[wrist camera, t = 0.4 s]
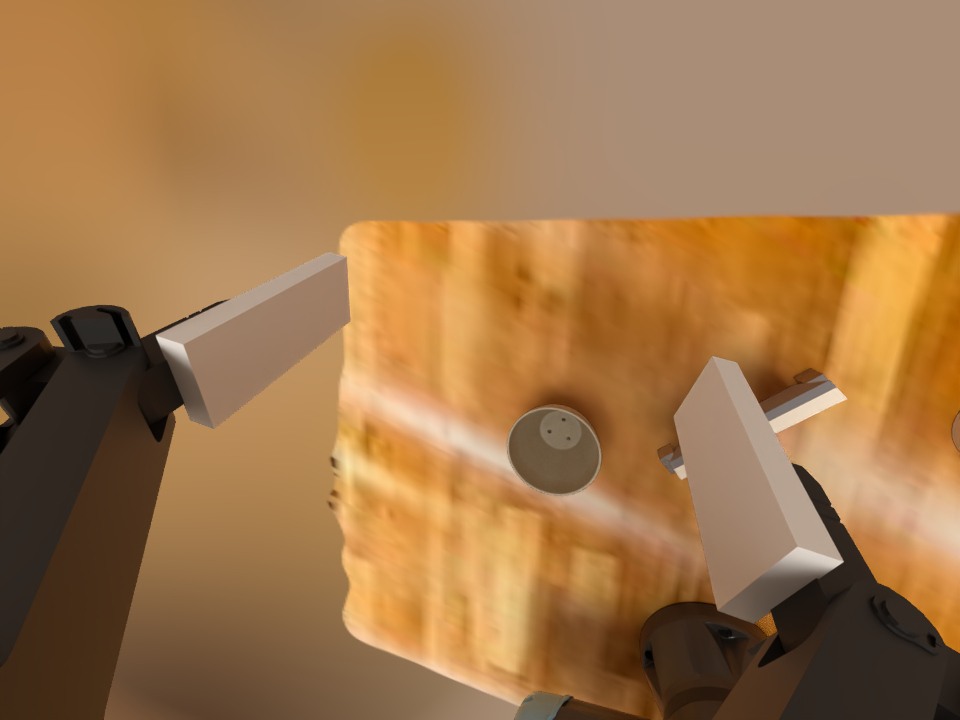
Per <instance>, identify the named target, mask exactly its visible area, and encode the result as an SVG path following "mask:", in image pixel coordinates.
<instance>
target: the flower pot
mask: <svg viewBox="0 0 960 720" xmlns="http://www.w3.org/2000/svg"><path fill="white" fill-rule="evenodd" d="M563 418H564V420H563V421H562V419H563ZM549 432H551V433H549ZM568 437H570V438H568ZM507 453H508V458H509V461H510V464H511V466H512V468H513V469H514V471H515V473H516V474H517V475H518V476H519V478H520V479H521V480H522V481H523V482H524V483H526V484H527V485H528V486H530V487H531V488H533V489H535V490H537V491H539V492H541V493H544V494H548V495H553V496H567V495H572V494H575V493H578V492H580V491H582V490H584V489H585V488H587V487H588V486H589V485H590V484H591V483H592V482H593V481H594V479H595V478H596V476H597V474H598V472H599V470H600V466H601V459H602V454H601V447H600V443H599V439H598V437H597V434H596V432H595V430H594V428H593V427H592V425H591V424H590V423H589V421H588V420H587V419H586V418H585V417H584V416H583V415H582V414H580V413H579V412H578V411H576V410H574V409H572V408H570V407H568V406H564V405H558V404H548V405H543V406H539V407H536V408H534V409H532V410H530V411H528V412H527V413H525V414H524V415H522V416H521V417H520V418H519V419H518V420H517V421H516V422H515V423H514V425H513V426H512V428H511V430H510V432H509V435H508V440H507Z"/></svg>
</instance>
